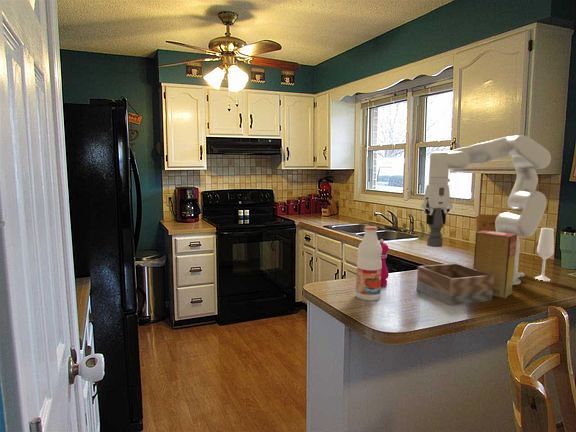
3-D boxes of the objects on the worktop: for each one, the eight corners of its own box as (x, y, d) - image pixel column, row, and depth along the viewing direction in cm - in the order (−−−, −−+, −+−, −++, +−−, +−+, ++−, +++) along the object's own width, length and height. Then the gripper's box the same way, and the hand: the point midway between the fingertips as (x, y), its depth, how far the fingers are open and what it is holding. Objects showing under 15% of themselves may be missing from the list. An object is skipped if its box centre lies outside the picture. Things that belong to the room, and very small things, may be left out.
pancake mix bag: (513, 272, 199) (518, 216, 195) (471, 266, 209) (475, 213, 206) (514, 269, 204) (519, 215, 201) (474, 263, 215) (478, 212, 211)
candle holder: (437, 247, 167) (440, 187, 164) (424, 245, 172) (427, 187, 169) (445, 245, 171) (448, 187, 168) (432, 243, 176) (435, 186, 173)
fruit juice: (367, 292, 163) (370, 224, 160) (385, 298, 156) (388, 227, 152) (350, 296, 158) (353, 225, 154) (368, 302, 150) (371, 229, 147)
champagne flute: (546, 282, 182) (552, 230, 180) (531, 278, 188) (536, 228, 185) (553, 279, 186) (559, 229, 183) (538, 276, 192) (543, 227, 189)
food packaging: (512, 293, 164) (518, 233, 161) (505, 298, 158) (510, 236, 154) (479, 286, 174) (483, 229, 170) (470, 291, 167) (475, 232, 164)
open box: (455, 285, 174) (456, 263, 173) (492, 300, 156) (494, 275, 154) (416, 289, 168) (417, 266, 166) (450, 305, 149) (452, 279, 148)
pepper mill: (375, 280, 179) (377, 236, 177) (390, 284, 175) (393, 239, 172) (368, 284, 174) (370, 239, 171) (383, 287, 169) (385, 241, 167)
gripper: (449, 181, 174) (446, 222, 176) (415, 181, 169) (413, 223, 171) (461, 181, 167) (458, 224, 169) (426, 182, 162) (424, 226, 164)
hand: (435, 223), depth 170 cm, fingers closed on candle holder, 5 cm apart
